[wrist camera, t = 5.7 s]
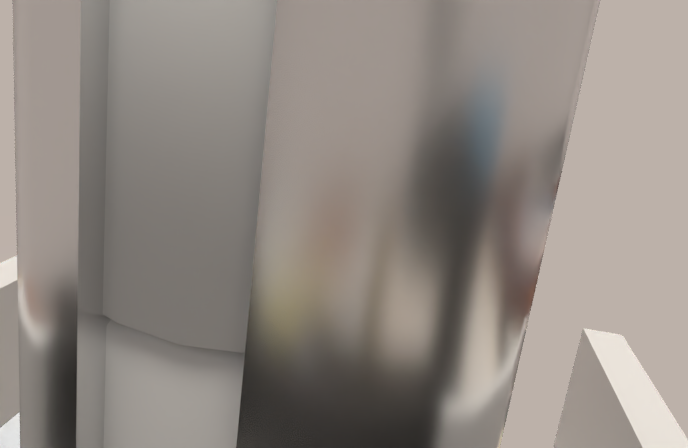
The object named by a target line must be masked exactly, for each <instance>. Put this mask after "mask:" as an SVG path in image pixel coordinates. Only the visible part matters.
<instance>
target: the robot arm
mask: <svg viewBox="0 0 688 448" xmlns="http://www.w3.org/2000/svg"><path fill="white" fill-rule="evenodd" d="M19 412H20V397H19V340H18V283H17V256H15V257H12V258H10V259H8V260H6V261H4V262H1V263H0V427H2V426H3V425H4V424H5V423H7V422H8V421H9V420H10V419H11V418H13V417H14V416H15V415H16V414H17V413H19ZM554 448H688V439H687V438H686V436H685V434H684V433H683V431H682V429H681V428H680V426H679V425H678V423H677V422H676V420H675V418H674V417H673V415H672V413H671V412H670V410H669V409H668V407H667V406H666V404H665V402H664V401H663V399H662V398H661V396H660V394H659V393H658V391H657V390H656V388H655V386H654V385H653V383H652V382H651V380H650V378H649V377H648V375H647V374H646V372H645V370H644V369H643V367H642V366H641V364H640V363H639V361H638V359H637V358H636V356H635V354H634V353H633V351H632V350H631V348H630V347H629V345H628V343H627V342H626V340H625V339H624V337H623V335H619V334H613V333H607V332H601V331H595V330H590V329H585V328H583V331H582V335H581V339H580V343H579V347H578V351H577V355H576V359H575V363H574V366H573V371H572V374H571V378H570V382H569V387H568V390H567V394H566V398H565V403H564V407H563V411H562V415H561V418H560V423H559V426H558V430H557V434H556V438H555V442H554Z"/></svg>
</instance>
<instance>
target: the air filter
mask: <svg viewBox="0 0 688 448" xmlns="http://www.w3.org/2000/svg"><path fill="white" fill-rule="evenodd" d="M599 4H600V0H13V51H14V52H13V54H14V111H15V166H16V222H17V223H16V225H17V283H18V340H19V397H20V448H500V445H501V440H502V436H503V431H504V427H505V422H506V418H507V413H508V409H509V404H510V400H511V395H512V391H513V387H514V382H515V378H516V373H517V368H518V364H519V360H520V355H521V351H522V346H523V342H524V338H525V333H526V328H527V324H528V320H529V315H530V311H531V306H532V301H533V298H534V293H535V288H536V284H537V279H538V275H539V270H540V266H541V262H542V257H543V253H544V248H545V244H546V239H547V235H548V231H549V226H550V222H551V217H552V213H553V209H554V204H555V200H556V195H557V191H558V186H559V182H560V177H561V173H562V168H563V164H564V160H565V155H566V151H567V146H568V142H569V137H570V132H571V128H572V124H573V119H574V115H575V110H576V106H577V102H578V97H579V92H580V88H581V84H582V79H583V75H584V71H585V66H586V62H587V57H588V53H589V48H590V44H591V39H592V35H593V30H594V26H595V22H596V17H597V13H598V8H599Z"/></svg>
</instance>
